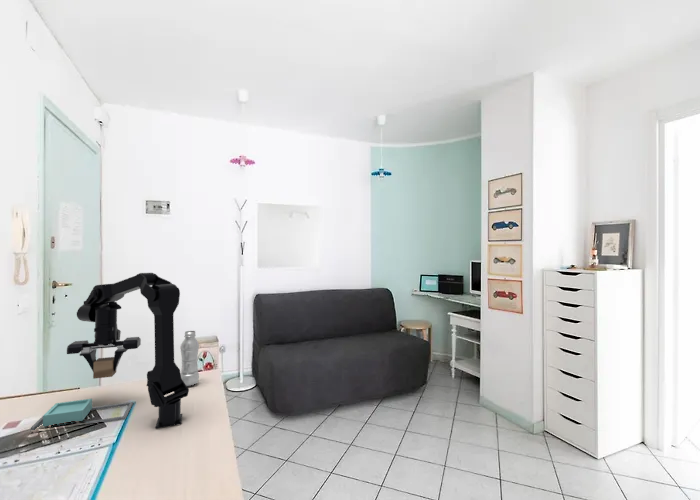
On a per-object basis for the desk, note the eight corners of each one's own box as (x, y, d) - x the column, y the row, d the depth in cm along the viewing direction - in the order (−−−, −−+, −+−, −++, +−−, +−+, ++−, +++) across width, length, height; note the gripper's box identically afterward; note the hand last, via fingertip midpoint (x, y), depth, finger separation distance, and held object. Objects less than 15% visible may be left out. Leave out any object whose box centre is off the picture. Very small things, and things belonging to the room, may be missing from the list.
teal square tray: (82, 423, 98) (82, 410, 98) (42, 429, 95) (43, 415, 95) (92, 410, 107) (92, 398, 107) (55, 415, 103) (56, 403, 103)
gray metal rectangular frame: (125, 419, 101) (125, 413, 101) (30, 433, 93) (30, 427, 93) (133, 403, 112) (133, 398, 112) (49, 415, 104) (49, 409, 104)
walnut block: (112, 376, 109) (112, 360, 109) (93, 378, 107) (93, 362, 107) (116, 371, 113) (116, 356, 114) (98, 373, 112) (98, 358, 112)
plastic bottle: (202, 382, 132) (203, 330, 132) (192, 389, 125) (193, 333, 125) (186, 381, 132) (187, 329, 133) (175, 388, 125) (176, 333, 126)
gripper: (144, 317, 121) (143, 361, 121) (80, 320, 115) (79, 367, 114) (137, 322, 111) (136, 371, 111) (66, 327, 104) (65, 378, 104)
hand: (105, 371), depth 110 cm, fingers closed on walnut block, 5 cm apart
